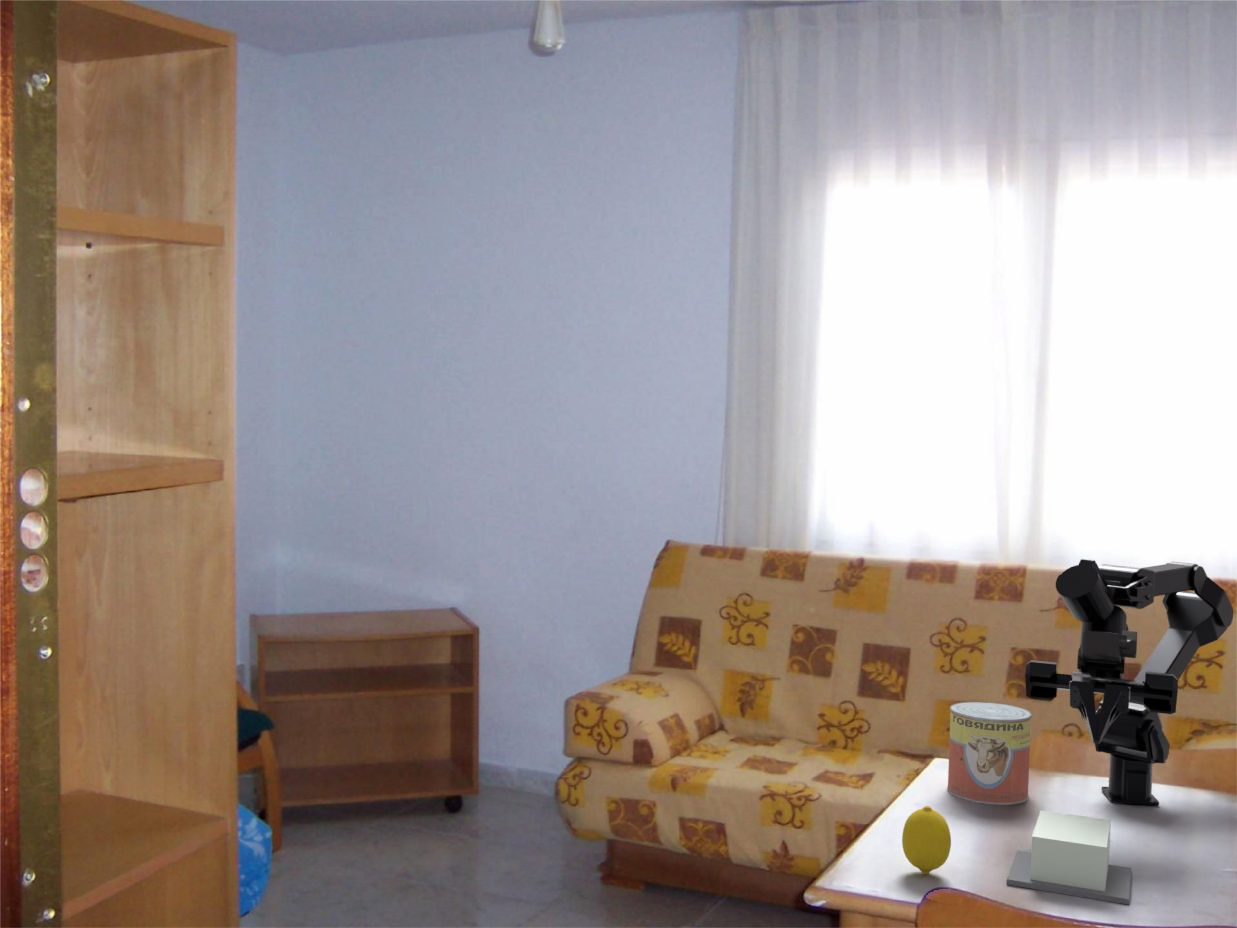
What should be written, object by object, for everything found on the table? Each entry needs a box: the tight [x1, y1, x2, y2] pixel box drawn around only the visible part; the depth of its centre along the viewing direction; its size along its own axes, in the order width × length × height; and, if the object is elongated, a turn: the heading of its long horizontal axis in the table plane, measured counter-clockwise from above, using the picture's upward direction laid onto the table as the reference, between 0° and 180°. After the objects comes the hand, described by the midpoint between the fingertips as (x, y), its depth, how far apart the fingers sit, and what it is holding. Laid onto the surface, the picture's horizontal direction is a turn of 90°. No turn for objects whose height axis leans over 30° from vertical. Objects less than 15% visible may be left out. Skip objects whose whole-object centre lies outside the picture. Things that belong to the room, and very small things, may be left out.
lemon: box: [901, 805, 952, 875], centre depth 145 cm, size 6×6×8 cm
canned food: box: [946, 701, 1033, 806], centre depth 179 cm, size 11×11×12 cm
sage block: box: [1030, 810, 1112, 891], centre depth 146 cm, size 5×8×11 cm
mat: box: [1006, 849, 1132, 905], centre depth 145 cm, size 11×13×1 cm
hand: (1096, 741), depth 160 cm, fingers closed
